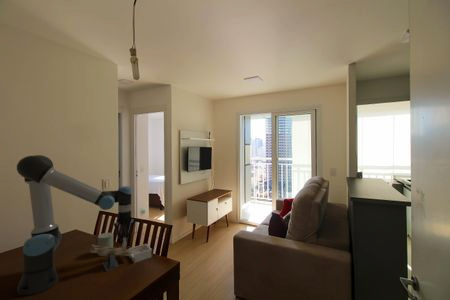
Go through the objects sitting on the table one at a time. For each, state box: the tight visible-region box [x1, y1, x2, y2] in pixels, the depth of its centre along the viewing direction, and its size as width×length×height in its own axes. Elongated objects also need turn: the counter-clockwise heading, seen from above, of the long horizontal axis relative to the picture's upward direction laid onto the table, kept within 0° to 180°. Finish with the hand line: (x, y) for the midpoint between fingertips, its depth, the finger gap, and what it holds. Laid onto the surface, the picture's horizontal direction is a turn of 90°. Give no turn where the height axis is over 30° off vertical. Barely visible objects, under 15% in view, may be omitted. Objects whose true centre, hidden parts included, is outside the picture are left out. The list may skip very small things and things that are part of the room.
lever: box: [89, 243, 132, 257], centre depth 127 cm, size 22×12×4 cm, turn 130°
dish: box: [128, 243, 153, 264], centre depth 136 cm, size 11×11×5 cm
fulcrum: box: [101, 253, 120, 272], centre depth 125 cm, size 7×10×8 cm
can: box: [96, 232, 114, 257], centre depth 141 cm, size 9×9×12 cm
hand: (124, 247), depth 136 cm, fingers closed
